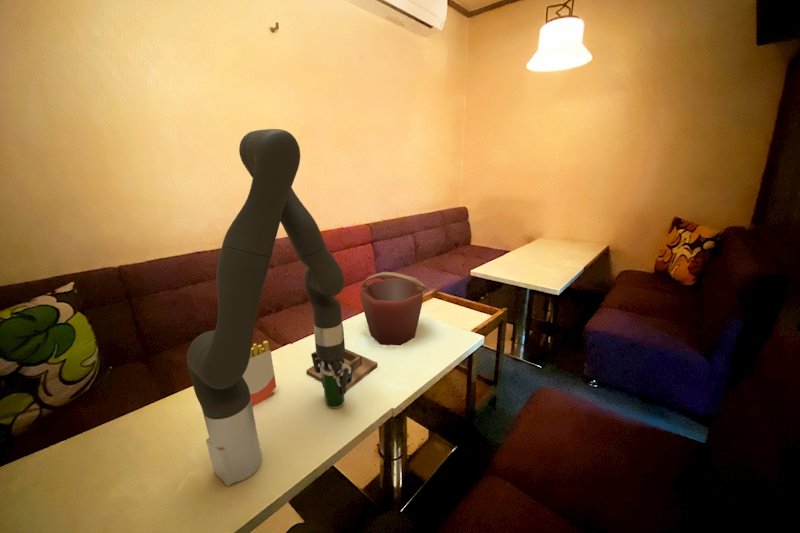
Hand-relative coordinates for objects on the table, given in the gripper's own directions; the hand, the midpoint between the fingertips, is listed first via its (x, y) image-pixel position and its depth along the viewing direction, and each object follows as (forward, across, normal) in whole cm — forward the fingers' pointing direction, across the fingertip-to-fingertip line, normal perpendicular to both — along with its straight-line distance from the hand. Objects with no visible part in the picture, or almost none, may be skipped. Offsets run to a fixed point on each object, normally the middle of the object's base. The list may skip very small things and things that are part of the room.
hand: (334, 390), depth 98 cm
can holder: (+4, -9, +12) cm, 16 cm away
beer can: (+4, 0, 0) cm, 4 cm away
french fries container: (+4, -20, -12) cm, 24 cm away
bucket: (+4, -9, +39) cm, 40 cm away
